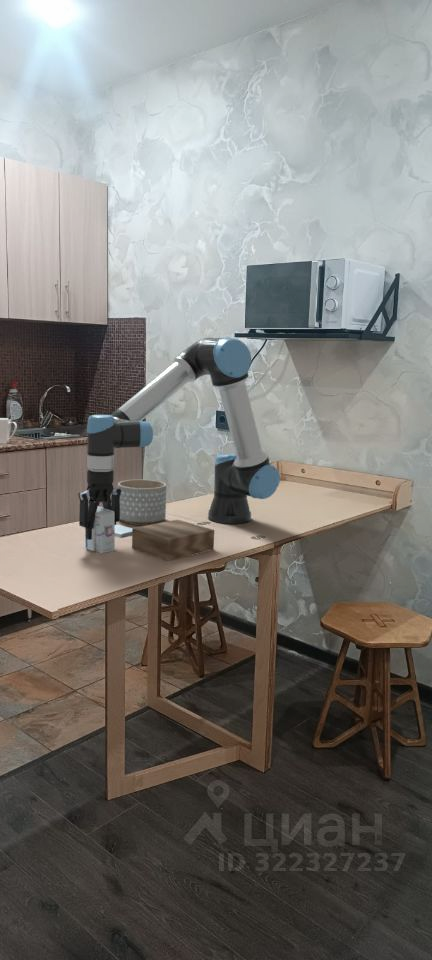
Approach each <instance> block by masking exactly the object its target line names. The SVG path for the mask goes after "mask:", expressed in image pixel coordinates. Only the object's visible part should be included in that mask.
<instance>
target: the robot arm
mask: <svg viewBox="0 0 432 960" xmlns="http://www.w3.org/2000/svg"><path fill="white" fill-rule="evenodd" d="M172 362H173V363H172V364H171V365H169V367H167V368H166V369H164V370H163V372H161V373H160V374H159V375H157V376H156V377H155V378H154V379H152V381H150V382H149V383H148V384H147V385H145V386H144V387H143V388H142V389H140V391H138V392H137V393H136V394H134V395H133V396H132V397H131V398H130V399H128V400H127V401H126V402H124V404H122V405H121V406H120V407H118V408H117V409H116V410H115V411H114V412H112V413H111V414H93V415H92V414H91V415H90V416H88V418H87V424H86V425H87V426H86V427H87V429H86V436H87V437H86V438H87V440H86V441H87V442H86V443H87V445H86V446H87V447H86V449H87V453H86V457H87V458H86V459H87V460H86V467H87V469H88V470H87V471H86V481H87V488H86V490H85V491H83V492H80V491H79V492H78V495H77V496H78V500H79V515H78V516H79V521H78V524H79V527H82V528H84V530H85V529H86V530H85V533H84V534H85V535H84V537H86V539H87V547H86V548H87V550H89V551H92V552H96V551H95V528H93V524H94V520H95V513H96V511H97V507H98V506H100V503H101V504H102V507H103V508H106V509H109V510H112V511H114V512H115V525H116V524H117V523H118V522H120V520H121V519H120V494H121V489H118V487H115V486H114V485H113V483H114V481H115V480H114V479H115V477H114V473H115V471H114V470H113V469H114V468H115V461H114V460H115V449H123V448H139V449H140V448H142V447H149V446H150V445H151V444H152V441H153V439H154V431H153V426H152V424H151V423H150V422H149V421H146V420H145V421H143V420H144V419H146V418H147V417H148V416H150V414H152V413H153V412H154V411H155V410H157V409H158V408H159V407H160V406H161V405H163V404H164V403H165V402H166V401H167V400H168V399H170V398H171V397H172V396H173V395H175V393H177V392H178V391H179V390H180V389H181V388H183V387H184V386H185V385H187V383H194V382H195V381H196V380H197V379H199V378H201V377H203V376H206V375H209V376H210V377H209V378H210V379H211V384H212V386H213V387H214V388H216V389H218V390H219V395H220V398H221V402H222V406H223V409H224V413H225V418H226V421H227V426H228V429H229V433H230V436H231V441H232V444H233V448H234V452H235V453H231V454H229V453H228V454H219V455H217V456H216V457H215V461H214V484H213V486H214V487H213V499H212V501H211V505H210V508H209V510H208V513H207V516H208V517H207V519H208V520H210V521H212V522H215V523H219V524H220V523H221V524H231V525H232V524H233V525H234V524H238V525H239V524H244V523H248V522H250V521H251V520H252V512H251V509H250V506H249V501H248V497H251V498H253V499H260V500H266V499H268V498H270V497H272V496H273V495H274V494H275V492H277V489H278V488H279V486H280V482H281V481H280V480H281V474H280V471H279V470H278V468H277V467H275V465H273V464H271V463H270V458H269V455H268V453H267V452H265V451H263V449H262V448H263V447H262V445H261V441H260V438H259V433H258V429H257V425H256V421H255V417H254V412H253V409H252V404H251V399H250V396H249V393H248V389H247V385H246V381H247V380H248V379H249V373H248V371H250V368H251V364H252V355H251V351H250V349H249V347H248V346H247V345H246V344H245V342H243V341H241V339H240V340H239V339H238V338H232V337H205V338H202V339H199V340H197V341H195V342H194V343H192V344H191V345H190V346H188V347H187V348H186V349H184V350H183V351H182V352H181V353H179V354H178V355H177V356H175V357H174V359H173V361H172Z"/></svg>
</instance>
